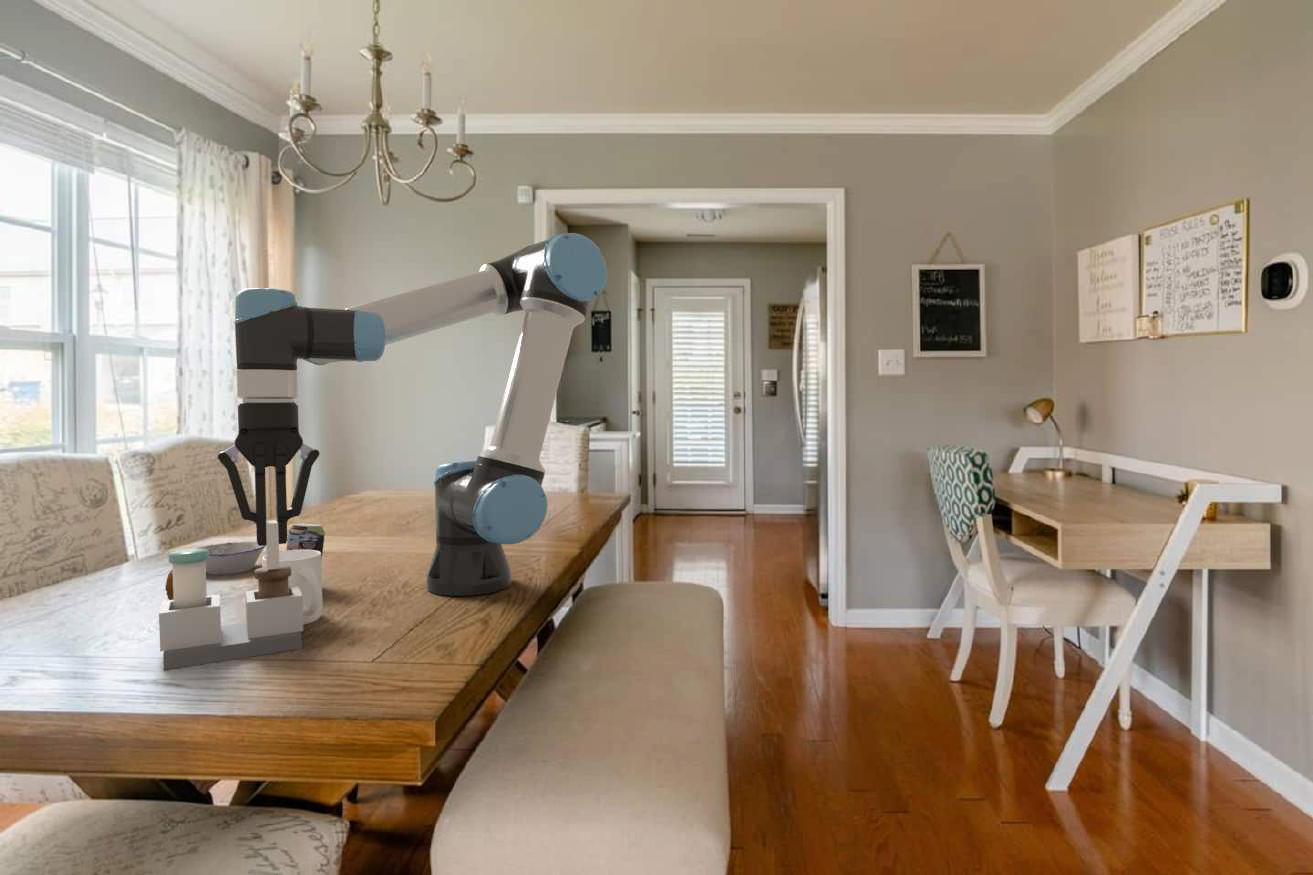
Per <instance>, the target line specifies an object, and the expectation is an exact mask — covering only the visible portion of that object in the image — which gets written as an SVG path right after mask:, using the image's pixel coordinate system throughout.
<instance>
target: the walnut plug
mask: <svg viewBox="0 0 1313 875" xmlns="http://www.w3.org/2000/svg"><path fill="white" fill-rule="evenodd" d="M289 576H291V567H290V566H283V565H279V569H272V570H267V567H262V566H261V567H259V568H256V569H255V570H254V579H255V580H257V583H258V585H257V586H258V589H257V590H259V599H267V598H275V597H283V596H289V586H288V577H289Z"/></svg>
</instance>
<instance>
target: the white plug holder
mask: <svg viewBox="0 0 1313 875" xmlns="http://www.w3.org/2000/svg"><path fill="white" fill-rule="evenodd" d="M220 595H221V594H220V593H218V594H209V595H207V606H201V607H193V608H185V609H177V610H174V600H169V599H168V600H162V601H161V604H160V608H159V611H158V623H159V626H158V627H159V629H158V630H159V650H160V652H163V654H162V658H163V659H162V660H163V671H166V670H173V669H179V668H186V667H192V666H197V665H198V666H200V665H204V664H211V663H217V662H224V661H231V660H236V659H237V660H238V659H243V658H244V659H245V658H249V657H255V656H263V655H269V654H275V653H281V652H289V651H295V650H301V649H302V648H303V647H302V646H303V645H302V633H301V632H304V625H303V603H302V594H301V592H300V589H299V587H298V585H295V586H289V596H283V597H275V598H267V599H259V590H258V589H254V590H252V589H251V590H246V591H245V614H246V615H245V617H246V618H245V619H246V622H239V623H233V624H228V625H227V624H226V625H225V624H224V625H222V623H221V617H222V616H221V599H220V598H221V596H220Z"/></svg>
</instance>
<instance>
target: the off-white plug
mask: <svg viewBox="0 0 1313 875" xmlns="http://www.w3.org/2000/svg"><path fill="white" fill-rule="evenodd" d="M167 555H168V557H167V558H168V563H169V564H171V566H172V568H171V570H173V598H174V610H177V609H185V608H193V607H201V606H207V596H208V594H207V593H208V592H207V572H206V561H205V560H207V559H208V558H209V550H207V549H196V548H191V549H190V548H189V549H180V550H176V551H172V552H169V553H168V554H167Z"/></svg>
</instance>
